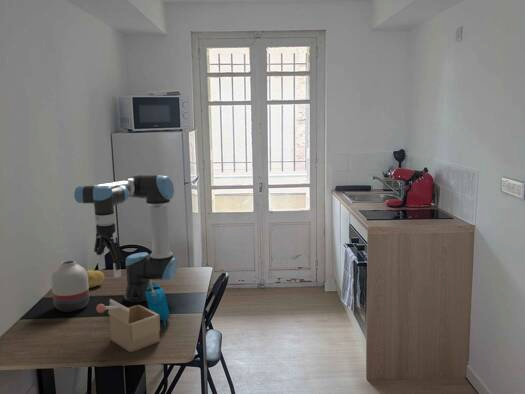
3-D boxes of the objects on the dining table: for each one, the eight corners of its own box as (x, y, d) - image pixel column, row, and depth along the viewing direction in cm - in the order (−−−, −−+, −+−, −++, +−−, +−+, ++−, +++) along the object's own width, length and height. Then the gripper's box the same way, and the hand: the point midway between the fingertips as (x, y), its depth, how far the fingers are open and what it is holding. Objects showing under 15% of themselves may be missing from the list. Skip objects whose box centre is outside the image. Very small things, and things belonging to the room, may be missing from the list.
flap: (109, 313, 217) (86, 315, 210) (111, 297, 217) (88, 299, 210) (128, 324, 206) (104, 326, 199) (130, 307, 206) (106, 309, 199)
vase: (66, 300, 266) (62, 256, 262) (96, 302, 263) (92, 257, 259) (46, 313, 250) (42, 266, 246) (78, 315, 247) (74, 268, 243)
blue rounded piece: (171, 327, 232) (169, 285, 228) (148, 330, 229) (145, 287, 225) (168, 313, 247) (166, 273, 244) (146, 315, 245) (144, 275, 241)
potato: (79, 285, 289) (77, 268, 287) (105, 283, 291) (104, 267, 289) (75, 291, 279) (74, 274, 277) (103, 289, 281) (101, 272, 280)
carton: (110, 339, 220) (108, 313, 218) (140, 329, 230) (138, 304, 228) (130, 353, 208) (129, 325, 206) (161, 341, 218) (160, 314, 216)
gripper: (83, 220, 216) (87, 268, 220) (111, 231, 198) (116, 282, 203) (99, 217, 221) (103, 263, 225) (129, 227, 203) (133, 277, 208)
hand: (109, 273), depth 214 cm, fingers open, 13 cm apart
